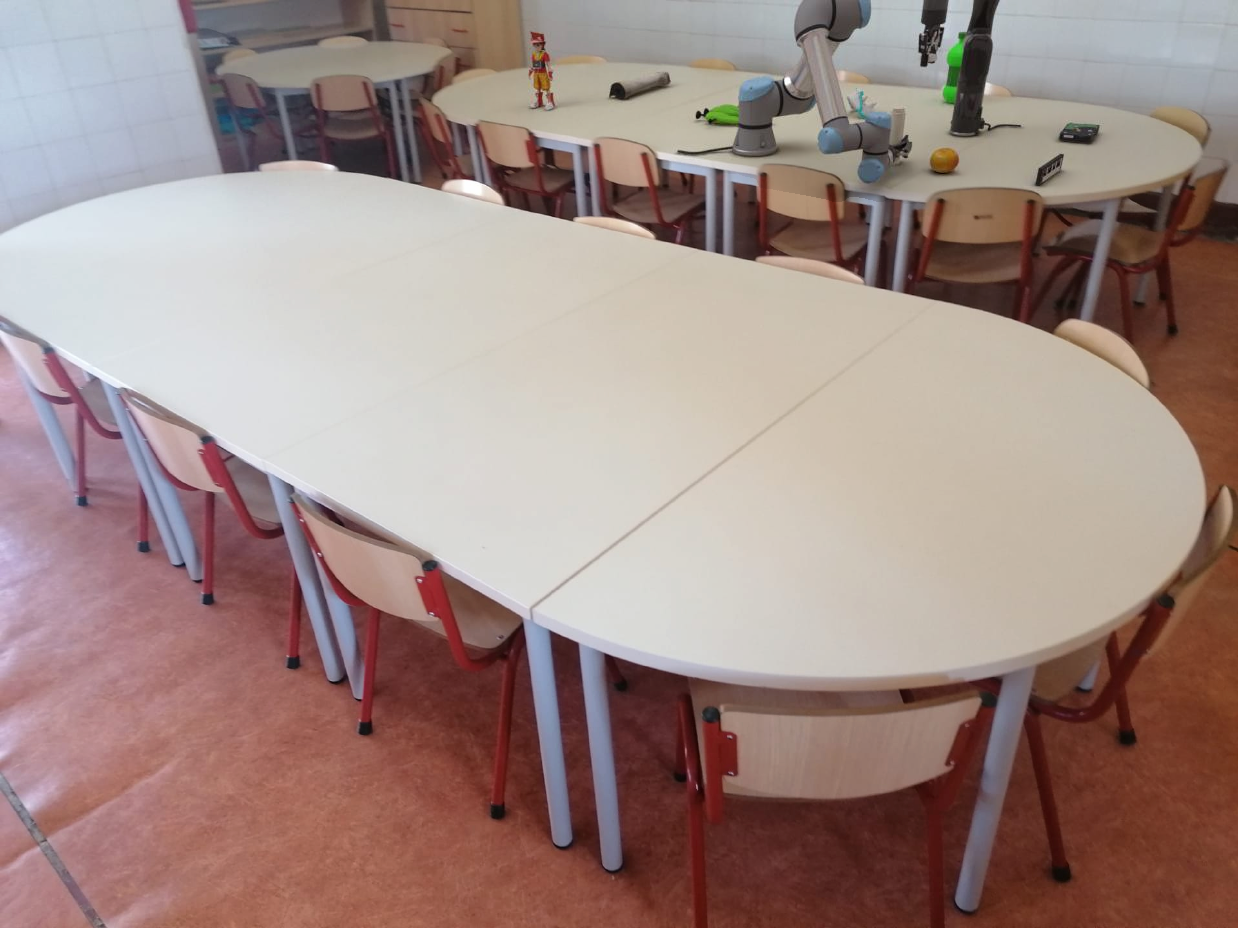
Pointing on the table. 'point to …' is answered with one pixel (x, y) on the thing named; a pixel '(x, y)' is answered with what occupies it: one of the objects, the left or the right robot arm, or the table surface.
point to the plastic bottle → (954, 69)
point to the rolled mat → (638, 84)
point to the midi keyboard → (1049, 169)
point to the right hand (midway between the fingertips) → (927, 65)
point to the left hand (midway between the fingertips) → (898, 138)
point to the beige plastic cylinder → (897, 127)
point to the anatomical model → (860, 103)
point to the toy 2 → (721, 114)
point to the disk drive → (1079, 132)
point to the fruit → (944, 160)
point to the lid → (931, 57)
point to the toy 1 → (541, 71)
